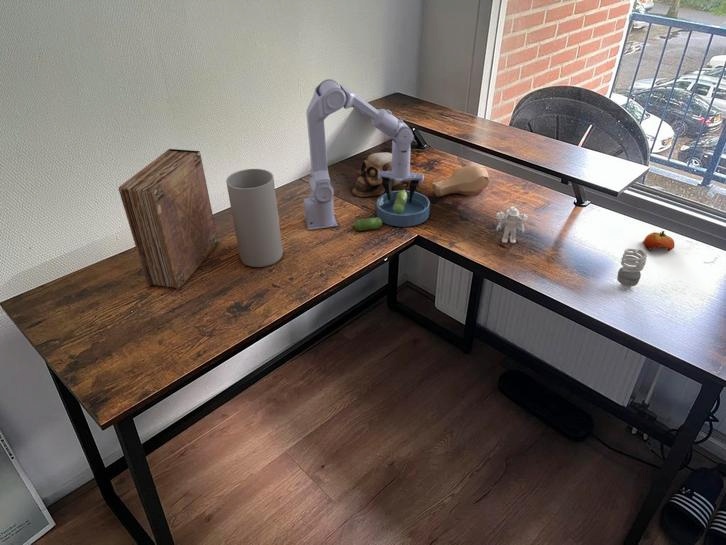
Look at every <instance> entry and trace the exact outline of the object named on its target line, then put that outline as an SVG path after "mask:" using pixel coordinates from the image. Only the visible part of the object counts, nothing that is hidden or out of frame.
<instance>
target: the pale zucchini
mask: <svg viewBox="0 0 726 545" xmlns="http://www.w3.org/2000/svg"><path fill="white" fill-rule="evenodd" d="M398 191H399V192H398V193H397V195H396V199H395V202H394V206H393V210H394V211H395V212H396V213H402V212H403V211H404V208H405V204H406V200H407V193H406V192H405V191H406V189H405V188H402V190H398Z"/></svg>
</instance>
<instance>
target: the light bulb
mask: <svg viewBox="0 0 726 545" xmlns="http://www.w3.org/2000/svg"><path fill="white" fill-rule="evenodd" d="M623 252H624V253H623V254H622V257H621V261H620V265H621V266H622V267H620V268H619V269H618V271H617V277H616V280H617V282H618V283H619V284H620V287H621V288H622V289H624V290H629V289H631V288H632V287H634V286H635V287H636V286H637V285H638V284H639V282H640V279H641V276H642V273H641V272H642V271H643V270H644V268H645V266H646V262H647V258H648V254H647V252H646V251H645V250H643V249H641V248H625V250H624V251H623Z"/></svg>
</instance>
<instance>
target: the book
mask: <svg viewBox="0 0 726 545" xmlns="http://www.w3.org/2000/svg"><path fill="white" fill-rule="evenodd" d="M201 155H202V154H201V150H192V149H191V150H190V149H178V148H177V149H176V148H168V149H167V150H166V151H164V152H163V153H162V154H160V155H159V156H158V157H156V158H155V159H154V160H152V162H150V163H149V164H147V165H146V166H145V167H143V168H142V169H141V170H139V171H138V172H137V173H136V174H134V175H132V176H131V177H130V178H129V179H127V180H126V181H125V182H123V183H122V184H121V185H120V186H118V192H119V196H120V199H121V202H122V206H123V209H124V212H125V216H126V219H127V223H128V226H129V230H130V232H131V235H132V239H133V243H134V246H135V249H136V252H137V256H138V259H139V262H140V266H141V270H142V273H143V276H144V280H145V283H146V286H147V287H148V288H150V287H151V286H152V285H153V286H159V287H167V288H175V289H176V291H180V290H181V289H182V287H183V286H184V285H185V284H186V282H187V281H188V280H189V279H190V278H191V277H192V275H193V274H194V273H195V271H197V269H198V268H199V266H200V265H202V263H203V262H204V261H205V259H207V257H208V256H209V255H210V253H212V251H213V250H214V249H215V248H216V246H217V245H218V244H219V238H218V234H217V229H216V224H215V218H214V214H213V208H212V204H211V199H210V193H209V190H208V185H207V180H206V174H205V170H204V164H203V160H202V156H201Z"/></svg>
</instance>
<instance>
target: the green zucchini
mask: <svg viewBox="0 0 726 545" xmlns="http://www.w3.org/2000/svg"><path fill="white" fill-rule="evenodd" d="M382 226H383V222H382V220H381V219H380V218H378V217H377V216H374V217H369V218H361V219H357V220H355V222H354V223H353V224H351V225H350V228H351V229H355V231H357V232H363V231H370V230H377V229H378V230H379V229H380V228H381V227H382Z"/></svg>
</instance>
